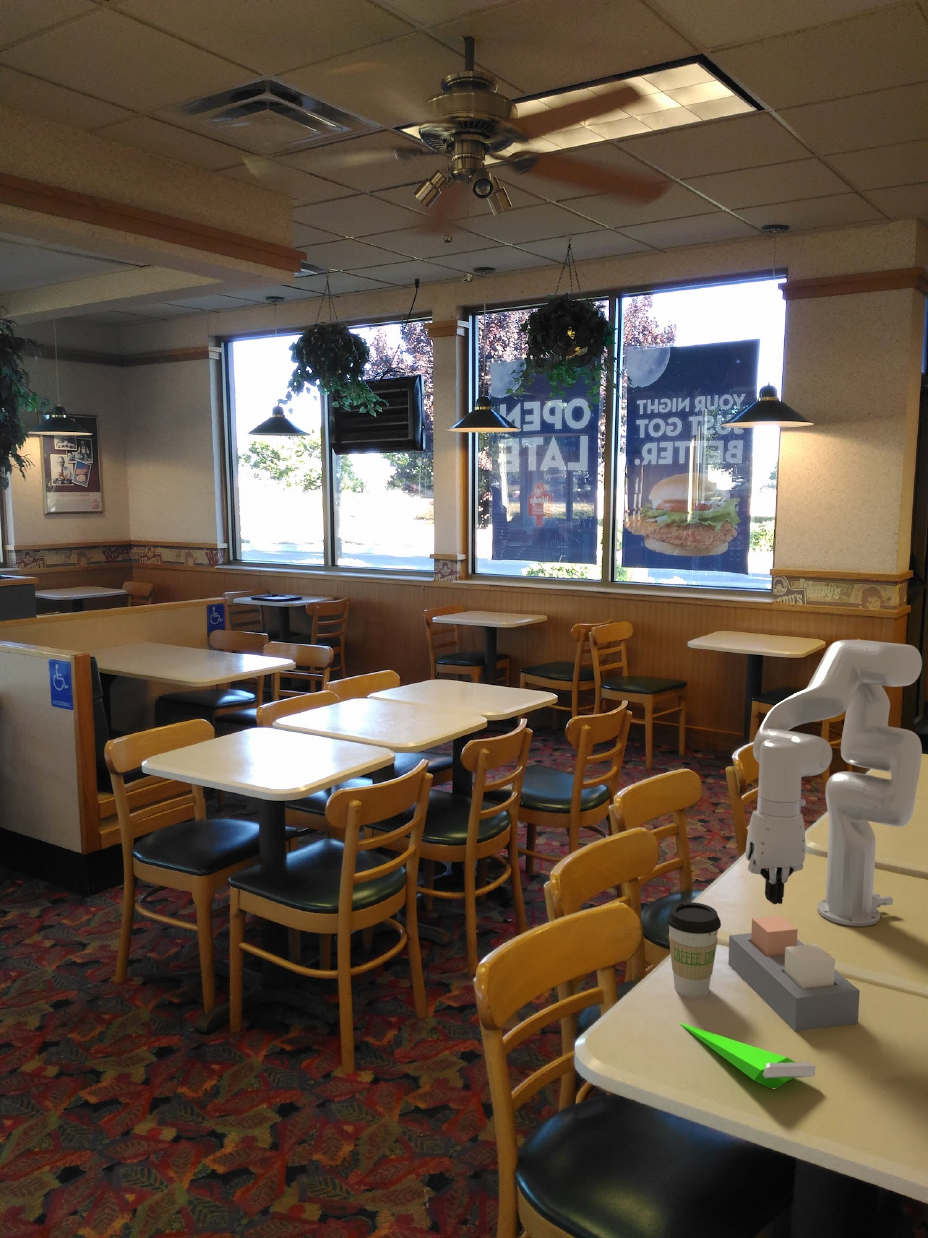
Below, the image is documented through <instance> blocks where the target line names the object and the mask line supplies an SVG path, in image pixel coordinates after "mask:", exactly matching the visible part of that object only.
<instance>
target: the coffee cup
mask: <svg viewBox="0 0 928 1238" xmlns="http://www.w3.org/2000/svg"><path fill="white" fill-rule="evenodd" d="M665 921H666V923H667V924H668V931H669V933H668V941H669V949H670V950H669V951H670V962H671V969H672V973H673V985H674V990H675V991H676V993H678V994H680V995H682V996H685V997H687V998H702V997H705V996H706V995H708V994H709V991H710V985H711V979H712V978H711V977H712V975H713V972H714V971H713V970H714V965H715V958H716V951H717V945H718V933H719V929H721V926H722V923H721V918H720V917H719V915H718V911H717V910H716V909H715V908H713V907H712V906H710V905H709V904H704V903H700V902H695V901H693V902H692V901H685V902H684V901H683V902H678V903H675V904H673V905H672V906H671V907H670V909H669V911H668V913H667V914H666V918H665Z"/></svg>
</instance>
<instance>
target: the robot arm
mask: <svg viewBox="0 0 928 1238" xmlns="http://www.w3.org/2000/svg"><path fill="white" fill-rule="evenodd" d="M922 667H923V659H922V656H921V653H920V651H919V649H918V648H916V647H915V646H914V645H911V644H904V643H897V642H896V643H893V642H885V641H884V642H883V641H878V640H877V641H876V640H875V641H874V640H865V639H840V640H837V641H834V642H833V643H832V644H830V645H829V646H828V647H827V649H826V651H825V653H824V654H823V657H821V660H820V662H819V664H818V666H817V667H816V669H815V671H814V674H812V677H811V679H810V681H809V683H808V685H807V687H806V688H805V689H802V690H800V691H798V692H796V693H794V694H792V695H790V696H788V697H787V698H785V699H784V700H782V701H779V703H777V704H776V705H774V706H773V707H771V709H770V710H768V711H767V714H766V715H765V717H764V719H763V721H762V722H761V724H760V726H759V728H758V730H757V732H756V734H755V737H754V740H753V743H752V744H753V745H752V754H753V757H754V759H755V760H756V762H757V763H758V764H759V765H758V787H757V788H758V789H757V805H756V806H757V809H756V810H753V811H752V814H751V817H750V821H749V824H748V831H747V836H746V846H745V859H746V860H747V861H749V862H748V867H747V871H749V872H750V873H751V874H754V875H759V876H761V877H762V878H763V879H764V880H765V884H764V885H765V886H764V895H765V898H766V900H767V901H769V902H770V903H771V904H772V905H777V904H778V905H783V901H784V900H783V898H784V895H785V884H786V883H787V882H788V880H789V878H790V876H791V875H792V874H793V873H796V872H799V871H801V870H803V869H804V863H805V860H806V828H805V822H804V816H803V813H801V810H802V808H801V807H804V806H806V804H807V801H806V799H805V798H801V796H802V795H801V794H802V793H801V792H802V778H803V777H813V776H818V775H820V774H822V773H824V772H826V770H828V768H829V767H830V765H831V763H832V760H833V750H832V747H831V745H830V743H829V742H828V741H827V740H826V739H825V738H822V737H820V736H817V735H815V734H809V733H808V734H807V733H802V732H799V731H791V729H793V728H794V727H797V726H800V725H803V724H808V723H812V722H819V721H823V720H828V719H832V718H836V717H839V716H841V715H843V714H844V713H845V718H844V721H843V722H844V724H843V729H842V736H841V741H840V742H841V743H840V755H841V758H842V759H843V761H844V762H845V763H847V764H850V765H852V766H856V767H861V768H865V769H871V770H876V771H880V772H886V773H889V774H890V777H891V779H890V778H885V777H879V776H874V775H871V774H867V773H866V774H865V773H861V772H856V771H855V772H854V771H838V772H836V773H833V774H832V775H830V777H829V778H828V780H827V782H826V785H825V801H826V808H827V815H828V837H827V839H828V840H827V860H826V880H825V881H826V882H825V884H826V885H825V898H824V899H822V900H820V901H819V902H818V903H817V912H818V913H819V915H820V916H822V917H823V919H826V920H829V921H830V922H833V923H836V924H840V925H843V926H850V927H870V926H872V925H875V924H877V923H878V922H879V921H880V919H881V913H880V911H879V910H878V908H881V906H891V905H893V904H894V899H893V898H892V895H884V896H883V895H882V896H881V895H880V893H878V892H874V888H875V887H874V884H875V863H876V850H877V849H876V848H877V847H876V846H877V845H876V844H877V840H876V836H875V835H876V834H875V831H874V830H873V827H872V826H871V824H870V822H871V823H875V824H881V825H885V826H888V827H895V828H903V827H905V826H906V825H908V824H909V823H910V821H911V820H912V817H913V814H914V810H915V804H916V799H917V792H918V784H919V779H920V772H921V765H922V758H923V757H922V756H923V749H922V748H923V747H922V742H921V739H920V737H919V735H918V734H917V733H915V732H913V731H912V730H909V729H906V728H905V729H904V728H900V727H893V726H889V717H890V716H889V714H890V708H891V701H890V699H889V696H888V694H887V693H886V691H885V689H884V687H893V688H895V687H906V686H911V685H912V684H913V683H915V682H916V680H918V678H919V677H920V674H921V671H922ZM883 686H884V687H883Z"/></svg>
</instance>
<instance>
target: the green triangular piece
mask: <svg viewBox="0 0 928 1238" xmlns="http://www.w3.org/2000/svg"><path fill="white" fill-rule="evenodd" d="M679 1025H680V1026H682V1027H683V1028H684V1029H686V1030H687V1031H688V1032H690V1033H691V1034H692V1035H693V1036H695V1037H696V1038H697V1039H699V1040H700V1041H702V1042H703V1043H704V1044H705V1045H707V1046H708V1047H709V1048H711V1049H712V1050H713V1051H715V1052H716V1053H717V1054H719V1056H721V1057H722V1058H724V1059H725V1060H727V1062H729V1063H731V1064H732V1065H733V1066H734V1067H736V1068H737V1069H739V1070H740V1071H741V1072H742V1073H744V1074H745V1075H746V1076H748V1077H749V1078H750V1079H751V1080H753V1081H755V1082H757V1083H759V1084H760V1085H762V1086H765V1087H767V1088H768V1089H771V1088H776V1089H777V1088H779V1087H781V1086H782V1085H784V1084H785V1082H786V1083H788V1082H789V1081H790V1079H791V1080H793V1079H794V1078H810V1077H815V1076H816V1065H815V1064H812V1063H810V1062H805V1061H804V1062H803V1061H801V1062H796V1061H794V1060H792V1059H790V1058H789V1057H786V1056H783V1055H780V1054H777V1053H775V1052H771V1051H768V1050H765V1049H763V1048H760V1047H755V1046H753V1045H750V1044H747V1043H743V1042H740V1041H737V1040H734V1039H731V1038H728V1037H725V1036H722V1035H719V1034H716V1033H712V1032H710V1031H706V1030H704V1029H700V1028H698V1027H694V1026H691V1025H689V1024H688V1025H687V1024H685V1023H682V1022H679ZM792 1078H793V1079H792ZM780 1085H781V1086H780Z"/></svg>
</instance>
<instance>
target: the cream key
mask: <svg viewBox="0 0 928 1238" xmlns="http://www.w3.org/2000/svg"><path fill="white" fill-rule="evenodd" d="M835 965H836V959H835V958H834V957H833V956H832V955H830V953H828V952H827V951H825V950H824V949H823V948H821V947H820V946H819V945H818V944H816V943H811V944H810V943H809V944H804V945H800V946H791V947H785V969H784V974H786V975H787V976H788V977H789V978H790V979H791V980H792V981H793V982H794V983H795V984H796V985H798V986H799V987H800V988H801V989H808V988H816V987H825V986H833V985H834V971H836V968H835V967H836V966H835Z"/></svg>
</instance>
